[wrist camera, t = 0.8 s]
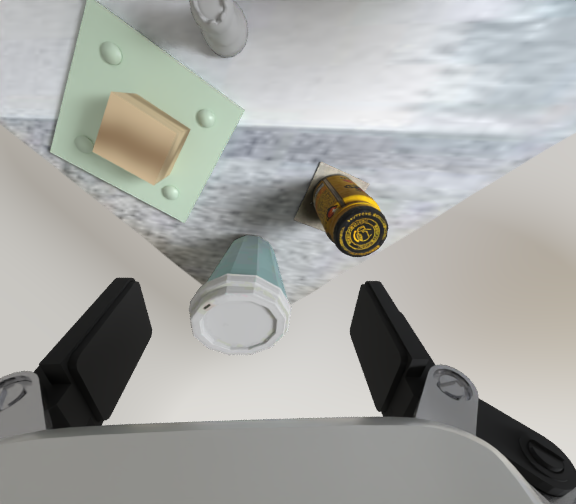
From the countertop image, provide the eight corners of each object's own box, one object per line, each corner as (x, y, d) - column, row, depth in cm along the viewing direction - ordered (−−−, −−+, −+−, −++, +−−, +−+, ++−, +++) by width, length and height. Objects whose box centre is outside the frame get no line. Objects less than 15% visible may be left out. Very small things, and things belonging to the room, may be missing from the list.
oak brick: (136, 93, 27) (111, 91, 23) (190, 129, 29) (176, 133, 24) (118, 144, 29) (92, 151, 25) (169, 174, 31) (153, 185, 27)
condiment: (369, 183, 34) (412, 217, 24) (338, 236, 38) (364, 286, 27) (320, 161, 32) (345, 187, 22) (293, 219, 36) (302, 265, 26)
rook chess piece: (250, 5, 25) (242, -34, 18) (246, 62, 27) (238, 46, 20) (202, -6, 24) (175, -51, 17) (202, 53, 26) (178, 34, 19)
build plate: (93, -2, 24) (85, -6, 23) (244, 110, 29) (243, 110, 28) (55, 151, 30) (48, 152, 29) (186, 220, 35) (183, 224, 34)
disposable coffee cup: (299, 256, 39) (315, 332, 26) (248, 294, 42) (238, 379, 29) (251, 206, 35) (241, 266, 22) (197, 252, 37) (159, 329, 24)
